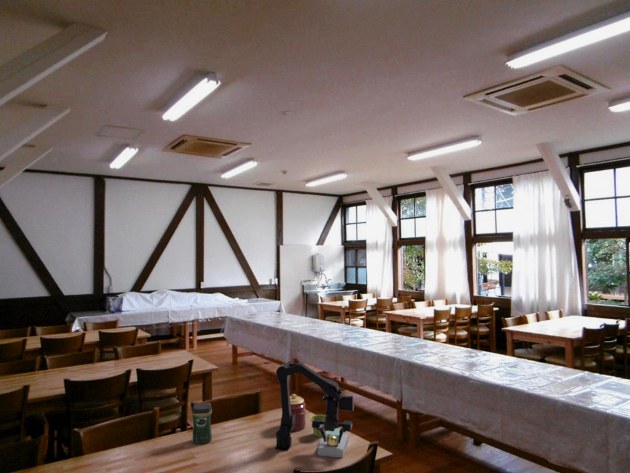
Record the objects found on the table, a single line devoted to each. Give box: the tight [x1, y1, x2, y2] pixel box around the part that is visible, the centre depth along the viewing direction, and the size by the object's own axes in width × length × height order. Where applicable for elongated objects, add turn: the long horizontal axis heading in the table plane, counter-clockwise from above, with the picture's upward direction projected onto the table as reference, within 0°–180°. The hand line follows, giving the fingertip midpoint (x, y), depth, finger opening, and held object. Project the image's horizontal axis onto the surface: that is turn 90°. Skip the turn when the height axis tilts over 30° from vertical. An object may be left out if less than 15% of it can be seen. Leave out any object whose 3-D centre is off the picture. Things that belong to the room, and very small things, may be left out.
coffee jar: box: [191, 402, 213, 445], centre depth 218 cm, size 10×8×19 cm
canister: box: [290, 393, 307, 432], centre depth 236 cm, size 13×13×18 cm
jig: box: [317, 432, 350, 459], centre depth 210 cm, size 12×17×4 cm
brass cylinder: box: [327, 435, 337, 447], centre depth 206 cm, size 4×4×7 cm
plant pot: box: [310, 414, 326, 438], centre depth 225 cm, size 9×9×9 cm
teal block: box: [327, 428, 344, 440], centre depth 213 cm, size 6×7×2 cm
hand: (332, 442), depth 206 cm, fingers open, 7 cm apart
